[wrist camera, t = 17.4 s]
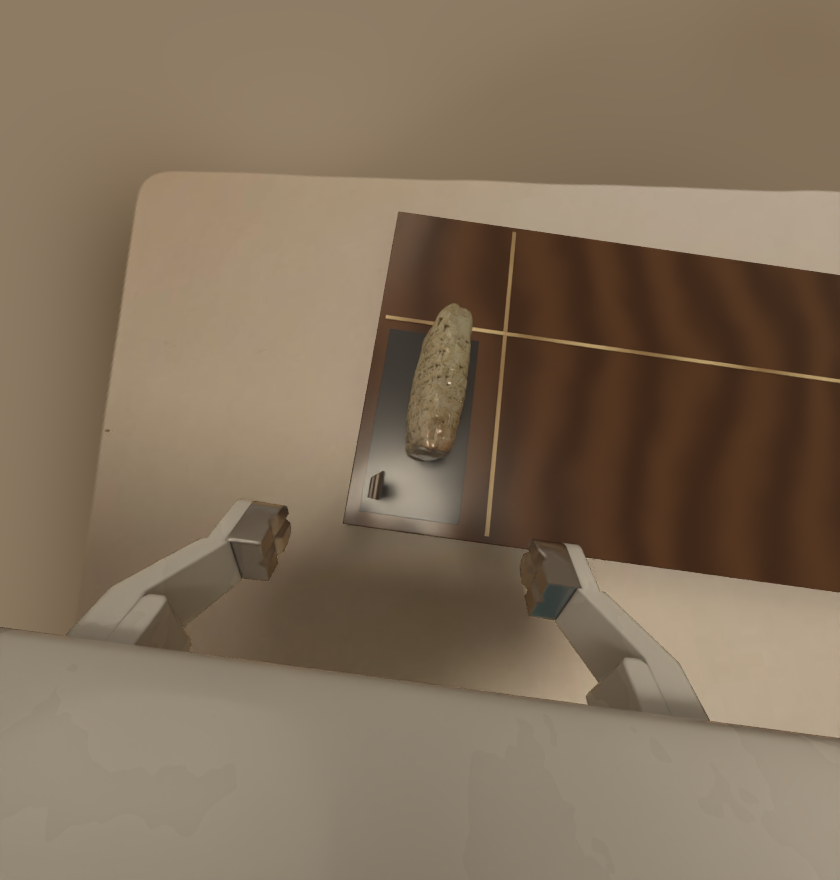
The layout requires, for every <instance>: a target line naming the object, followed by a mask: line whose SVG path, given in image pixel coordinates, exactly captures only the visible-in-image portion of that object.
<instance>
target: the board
mask: <svg viewBox="0 0 840 880" xmlns="http://www.w3.org/2000/svg"><path fill="white" fill-rule="evenodd" d="M452 303H456V304H458V305H459V307H461V308H465V309H468V310H469V311H470V312H471V315H472V318H473V328H472V335H471V343H470V344H471V349H470V363H469V370H468V377H467V388H466V391H465V393H466V394H465V400H464V403H463V408H462V413H461V416H460V422H459V425H458V428H457V436H456V439H455V442H454V444H453V448H452V450H451V452H450V453H449V455H447V456H446V457H443V458H440V459H436V460H432V461H417V460H414V459H413V458H412V457H410V456H408V455H407V452H406V449H405V448H406V443H407V441H406V430H407V428H406V416H407V410H408V405H409V402H410V392H411V389H412V381H413V378H414V372H415V370H416V368H417V364H418V360H419V358H420V357H419V356H420V353H421V349H422V342H423V339H424V338H425V336H426V335H427V334H428V332H429V330H430V329H431V327H432V326H433V324H434V323H435V320H436V318H437V316H438V314H439V313H440V311H441V310H442V309H443V308H445V307H446V306H448V305H450V304H452ZM381 471H385V477H384V484H383V490H382V496H381V500H376V499H372V498H368V492H369V486H370V480H371V477H372V476H374V475H376V474H378V473H380V472H381ZM343 524H348V525H355V526H363V527H370V528H377V529H384V530H392V531H399V532H406V533H413V534H420V535H428V536H435V537H442V538H449V539H457V540H464V541H471V542H478V543H486V544H493V545H500V546H507V547H515V548H522V549H528V544H529V542H530V541H531V540H532V539H537V540H545V541H553V542H561V543H568V544H575V545H579V546H580V547H581V548H582V550H583V553H584V555H585V557H587V558H594V559H601V560H609V561H616V562H623V563H630V564H638V565H645V566H652V567H659V568H666V569H674V570H681V571H688V572H695V573H703V574H710V575H717V576H724V577H732V578H739V579H746V580H753V581H761V582H768V583H775V584H782V585H789V586H797V587H804V588H811V589H818V590H826V591H833V592H840V275H835V274H828V273H821V272H814V271H807V270H800V269H793V268H786V267H779V266H773V265H766V264H759V263H752V262H745V261H738V260H731V259H724V258H717V257H710V256H703V255H696V254H689V253H682V252H675V251H668V250H662V249H655V248H648V247H641V246H634V245H627V244H620V243H613V242H606V241H599V240H592V239H585V238H578V237H571V236H564V235H557V234H551V233H544V232H537V231H530V230H523V229H516V228H509V227H502V226H495V225H488V224H481V223H474V222H467V221H460V220H453V219H447V218H440V217H433V216H426V215H419V214H412V213H405V212H398V217H397V222H396V228H395V234H394V239H393V245H392V250H391V256H390V262H389V267H388V273H387V278H386V284H385V290H384V295H383V301H382V306H381V312H380V318H379V323H378V329H377V335H376V340H375V346H374V351H373V357H372V363H371V368H370V374H369V379H368V385H367V391H366V396H365V402H364V407H363V413H362V419H361V424H360V430H359V436H358V441H357V447H356V452H355V458H354V464H353V469H352V475H351V480H350V486H349V492H348V497H347V503H346V508H345V514H344V520H343Z"/></svg>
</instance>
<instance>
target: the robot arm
mask: <svg viewBox="0 0 840 880" xmlns="http://www.w3.org/2000/svg"><path fill="white" fill-rule="evenodd" d="M288 514H289V513H288V508H287V506H284V505H277V504H271V503H265V502H259V501H252V500H245V499H239V500H237V501H236V502H235V503H234V504H233V505H232V506H231V508H230V509H229V510H228V511H227V513H226V514H225V515H224V517H223V518H222V519H221V520H220V522H219V523H218V524H217V526H216V527H215V528H214V529H213V531H212V532H211V533H210V535H209V536H208V537H207V538H200V539H198V540H197V541H195V542H193V543H191V544H189V545H187V546H185V547H184V548H182V549H180V550H178V551H176V552H174V553H173V554H171V555H169V556H167V557H165V558H163V559H161V560H160V561H158V562H156V563H154V564H152V565H150V566H148V567H147V568H145V569H143V570H141V571H139V572H137V573H136V574H134V575H132V576H130V577H128V578H126V579H124V580H123V581H121V582H119V583H117V584H115V585H113V586H111V587H110V588H109V589H108V591H107V592H106V593H105V594H104V595H103V596H102V597H101V598H100V599H99V600H98V601H97V602H96V603H95V604H94V605H93V606H92V608H91V609H90V610H89V611H88V612H87V613H86V614H85V615H84V616H83V617H82V618H81V619H80V620H79V621H78V622H77V623H76V625H75V626H74V627H73V628H72V629H71V630H70V631H69V632H68V633H67V634H66V635H65V636H63V635H56V634H48V633H40V632H33V631H25V630H18V629H10V628H3V627H0V880H840V738H835V737H827V736H819V735H812V734H804V733H797V732H789V731H782V730H774V729H767V728H759V727H752V726H744V725H737V724H729V723H722V722H714V721H710V720H709V718H708V716H707V714H706V712H705V710H704V708H703V707H702V705H701V703H700V701H699V699H698V697H697V695H696V693H695V692H694V690H693V688H692V686H691V684H690V682H689V680H688V678H687V677H686V675H685V673H684V671H683V669H682V667H681V665H680V664H679V662H678V661H677V660H675V659H674V658H673V657H672V656H671V655H670V654H669V653H668V652H667V651H666V650H665V649H664V648H663V647H662V646H661V645H660V644H659V643H658V642H657V641H656V640H655V639H654V638H652V637H651V636H650V635H649V634H648V633H647V632H646V631H645V630H644V629H643V628H642V627H641V626H640V625H639V624H638V623H637V622H636V621H635V620H634V619H633V618H632V617H630V616H629V615H628V614H627V613H626V612H625V611H624V610H623V609H622V608H621V607H620V606H619V605H618V604H617V603H616V602H615V601H614V600H613V599H612V598H611V597H610V596H609V595H607V594H606V593H605V592H602V591H600V590H599V588H598V585H597V583H596V581H595V578H594V576H593V574H592V571H591V569H590V567H589V564H588V562H587V560H586V557H585V555H584V553H583V550H582V548H581V547H580V546H579V545H575V544H568V543H561V542H553V541H545V540H537V539H532V540H531V541H530V542H529V544H528V550H529V552H527V553H525V554H524V555H523V557H522V559H521V564H520V577H521V582H522V584H523V585H524V586H525V588H526V589H527V592H526V594H525V596H524V597H525V601H526V606H527V610H528V615H529V616H530V617H536V618H543V619H549V620H555V623H556V624H557V626H558V627H559V628H560V630H561V631H562V632H563V634H564V635H565V637H566V638H567V639H568V641H569V642H570V644H571V645H572V646H573V648H574V649H575V651H576V652H577V653H578V655H579V656H580V658H581V659H582V660H583V662H584V663H585V664H586V666H587V667H588V669H589V670H590V671H591V673H592V674H593V676H594V677H595V678H596V680H597V681H598V684H597V685H596V686H595V687H594V688H593V689H592V690H591V691H590V692H589V693H588V694H587V695H586V699H587V703H588V705H585V704H578V703H570V702H563V701H555V700H548V699H540V698H533V697H525V696H518V695H510V694H502V693H495V692H487V691H480V690H472V689H465V688H457V687H450V686H442V685H435V684H427V683H419V682H412V681H404V680H397V679H389V678H382V677H374V676H367V675H359V674H352V673H344V672H336V671H329V670H321V669H314V668H306V667H299V666H291V665H283V664H276V663H268V662H261V661H253V660H246V659H238V658H230V657H223V656H215V655H208V654H200V653H192V652H188V651H189V649H190V647H191V646H192V642H191V639H190V637H189V636H188V634H187V632H186V631H185V629H184V627H185V626H186V625H187V624H188V623H189V622H191V621H192V620H193V619H194V618H196V617H197V616H198V615H199V614H201V613H202V612H203V611H204V610H206V609H207V608H208V607H209V606H210V605H212V604H213V603H214V602H215V601H217V600H218V599H219V598H220V597H222V596H223V595H224V594H225V593H227V592H228V591H229V590H230V589H231V588H233V587H234V586H235V585H236V584H238V583H239V582H240V581H241V580H242V579H251V580H260V581H269V580H270V578H271V576H272V574H273V572H274V570H275V568H276V566H277V564H278V559H277V556H278V555H279V554H281V553H282V552H284V551H285V548H286V546H287V544H288V541H289V538H290V533H291V526H290V522H289V521H288V520H287V519H286V518H287V516H288Z"/></svg>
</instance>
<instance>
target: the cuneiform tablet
mask: <svg viewBox="0 0 840 880" xmlns="http://www.w3.org/2000/svg"><path fill="white" fill-rule="evenodd" d="M472 328H473V318H472V315H471V312H470V311H469V310H468V309H465V308H461V307H459V305H458V304H456V303H452V304H450V305H448V306H446V307H445V308H443V309H442V310H441V311H440V313H439V314H438V316H437V318H436V320H435V323H434V324H433V326H432V327H431V329H430V330H429V332H428V334H427V335H426V336H425V338H424V339H423V342H422V349H421V353H420V356H419V357H420V358H419V360H418V364H417V368H416V370H415V372H414V378H413V381H412V389H411V392H410V402H409V405H408V410H407V416H406V428H407V430H406V441H407V443H406V448H405V449H406V452H407V455H408V456H410V457H412V458H413V459H414V460H417V461H432V460H436V459H440V458H443V457H446V456H447V455H449V453H450V452H451V450H452V448H453V444H454V442H455V439H456V436H457V428H458V425H459V422H460V416H461V413H462V408H463V403H464V400H465V394H466V393H465V391H466V388H467V377H468V370H469V363H470V349H471V344H470V343H471V335H472ZM384 477H385V471H381V472H380V473H378V474H376V475H374V476H372V477H371V480H370V486H369V492H368V498H372V499H376V500H381V496H382V490H383V484H384Z"/></svg>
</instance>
